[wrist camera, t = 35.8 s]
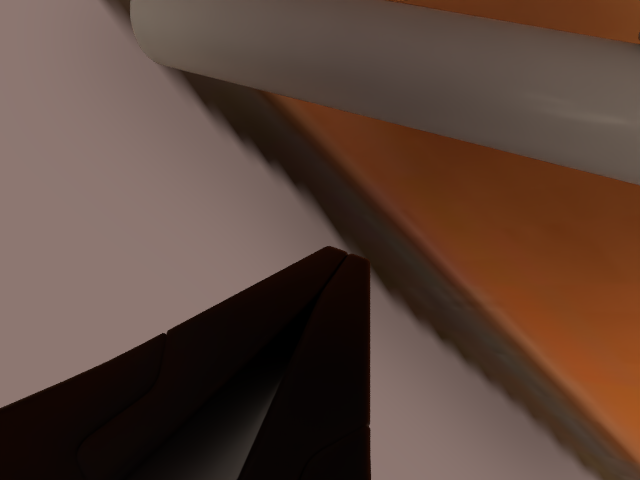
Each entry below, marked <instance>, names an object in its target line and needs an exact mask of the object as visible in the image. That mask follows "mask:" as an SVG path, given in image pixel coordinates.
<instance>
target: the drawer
mask: <svg viewBox="0 0 640 480" xmlns="http://www.w3.org/2000/svg"><path fill="white" fill-rule="evenodd" d="M130 18H131V24H132V29H133V32H134V35H135V38H136V40H137V42H138V44H139V46H140V48H141V49H142V51H143V52H144V53H145V54H146V55H147V56H148V57H149V58H150V59H151V60H153V61H154V62H156V63H157V64H160V65H164V66H168V67H172V68H176V69H180V70H184V71H188V72H192V73H196V74H200V75H204V76H208V77H212V78H216V79H220V80H224V81H228V82H231V83H235V84H239V85H243V86H247V87H251V88H255V89H259V90H263V91H267V92H271V93H275V94H279V95H283V96H287V97H291V98H295V99H299V100H303V101H307V102H311V103H315V104H319V105H323V106H327V107H331V108H335V109H339V110H343V111H347V112H351V113H355V114H359V115H363V116H367V117H371V118H375V119H378V120H382V121H386V122H390V123H394V124H398V125H402V126H406V127H410V128H414V129H418V130H422V131H426V132H430V133H434V134H438V135H442V136H446V137H450V138H454V139H458V140H462V141H466V142H470V143H474V144H478V145H482V146H486V147H490V148H494V149H498V150H502V151H506V152H510V153H514V154H518V155H521V156H525V157H529V158H533V159H537V160H541V161H545V162H549V163H553V164H557V165H561V166H565V167H569V168H573V169H577V170H581V171H585V172H589V173H593V174H597V175H601V176H605V177H609V178H613V179H617V180H621V181H625V182H629V183H633V184H637V185H640V44H635V43H629V42H623V41H617V40H612V39H606V38H600V37H594V36H589V35H583V34H577V33H571V32H565V31H560V30H554V29H548V28H542V27H537V26H531V25H525V24H519V23H513V22H508V21H502V20H496V19H490V18H485V17H479V16H473V15H467V14H462V13H456V12H450V11H444V10H438V9H433V8H427V7H421V6H415V5H410V4H404V3H398V2H392V1H386V0H131V1H130ZM638 39H639V40H640V32H639V38H638Z"/></svg>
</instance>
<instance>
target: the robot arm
mask: <svg viewBox="0 0 640 480" xmlns="http://www.w3.org/2000/svg"><path fill="white" fill-rule="evenodd" d="M369 425H370V261H369V260H368V259H366V258H363V257H360V256H357V255H355V254H349V255H348V254H347V252H346V251H343V250H340V249H337V248H334V247H331V246H327V247H324V248H323V249H320V250H319V251H317V252H315V253H313V254H311V255H309V256H308V257H305V258H303V259H302V260H300V261H298V262H296V263H294V264H292V265H290V266H288V267H287V268H285V269H283V270H281V271H279V272H277V273H275V274H273V275H271V276H270V277H268V278H266V279H264V280H262V281H260V282H258V283H256V284H255V285H253V286H251V287H249V288H247V289H245V290H243V291H241V292H239V293H238V294H236V295H234V296H232V297H230V298H228V299H226V300H224V301H223V302H221V303H219V304H217V305H215V306H213V307H211V308H210V309H207V310H206V311H204V312H202V313H200V314H198V315H196V316H194V317H193V318H190V319H189V320H187V321H185V322H183V323H181V324H180V325H177V326H175V327H174V328H172V329H170V330H168V331H167V334H165V333H162V334H160V335H158V336H156V337H154V338H152V339H151V340H149V341H147V342H145V343H143V344H141V345H139V346H137V347H135V348H133V349H131V350H129V351H128V352H125V353H123V354H121V355H119V356H117V357H115V358H113V359H111V360H109V361H107V362H105V363H103V364H101V365H99V366H96V367H94V368H92V369H90V370H88V371H85V372H83V373H81V374H78V375H76V376H74V377H72V378H70V379H67V380H65V381H63V382H60V383H58V384H56V385H53V386H51V387H49V388H46V389H44V390H42V391H40V392H37V393H35V394H32V395H30V396H28V397H26V398H23V399H21V400H18V401H16V402H14V403H11V404H9V405H7V406H4V407H2V408H0V480H371V461H370V428H369Z"/></svg>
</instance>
